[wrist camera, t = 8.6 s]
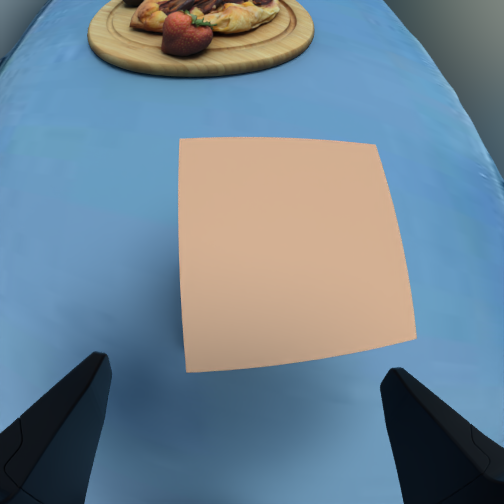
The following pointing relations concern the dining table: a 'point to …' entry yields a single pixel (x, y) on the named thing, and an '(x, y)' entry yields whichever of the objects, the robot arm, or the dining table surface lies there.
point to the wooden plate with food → (200, 35)
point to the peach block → (287, 252)
